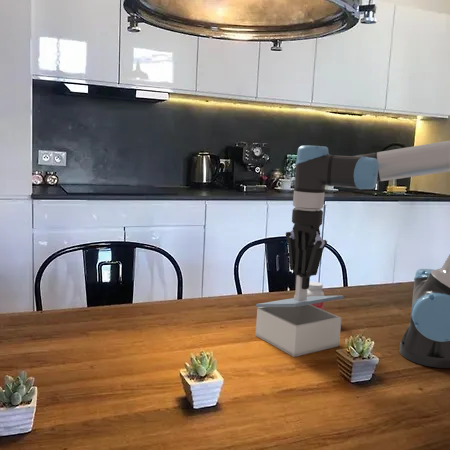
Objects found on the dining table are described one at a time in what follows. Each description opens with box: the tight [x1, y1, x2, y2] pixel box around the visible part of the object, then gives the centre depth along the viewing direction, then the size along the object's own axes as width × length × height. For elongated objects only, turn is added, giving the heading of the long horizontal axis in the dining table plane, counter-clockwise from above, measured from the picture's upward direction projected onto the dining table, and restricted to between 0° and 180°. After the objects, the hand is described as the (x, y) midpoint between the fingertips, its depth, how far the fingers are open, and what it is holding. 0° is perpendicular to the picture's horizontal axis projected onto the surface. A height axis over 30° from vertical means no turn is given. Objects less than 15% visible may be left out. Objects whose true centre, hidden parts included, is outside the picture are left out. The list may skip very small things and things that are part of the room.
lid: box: [255, 294, 345, 308], centre depth 143 cm, size 16×17×2 cm
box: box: [255, 305, 342, 358], centre depth 144 cm, size 16×16×8 cm
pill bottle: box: [307, 281, 325, 310], centre depth 163 cm, size 6×6×11 cm
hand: (300, 300), depth 136 cm, fingers closed
